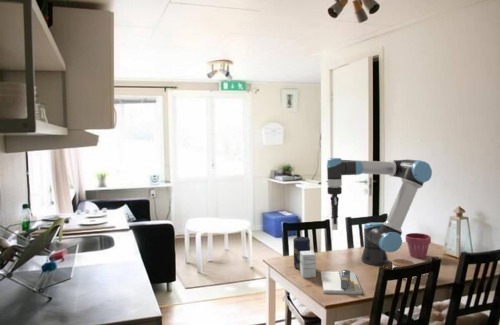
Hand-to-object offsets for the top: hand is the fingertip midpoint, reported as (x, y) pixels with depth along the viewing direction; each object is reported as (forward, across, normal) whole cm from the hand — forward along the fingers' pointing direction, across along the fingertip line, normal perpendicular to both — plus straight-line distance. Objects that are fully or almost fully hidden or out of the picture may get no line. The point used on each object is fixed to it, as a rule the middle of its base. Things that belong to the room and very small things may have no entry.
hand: (334, 229), depth 217 cm
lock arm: (+23, +20, +3) cm, 30 cm away
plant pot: (+25, -33, +53) cm, 67 cm away
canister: (+25, -9, -18) cm, 32 cm away
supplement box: (+25, +4, -15) cm, 29 cm away
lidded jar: (+25, +3, +35) cm, 43 cm away
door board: (+24, +15, +1) cm, 29 cm away
